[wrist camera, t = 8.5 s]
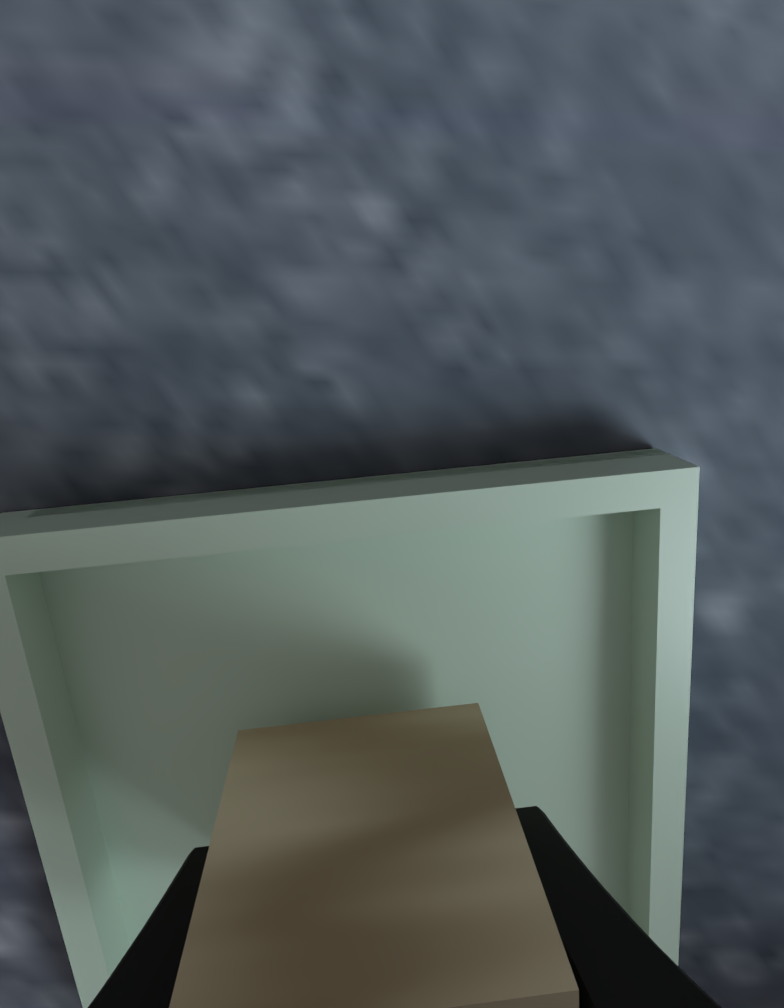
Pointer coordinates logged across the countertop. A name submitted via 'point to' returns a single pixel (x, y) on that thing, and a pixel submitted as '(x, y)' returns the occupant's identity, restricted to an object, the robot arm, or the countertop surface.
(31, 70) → the countertop surface
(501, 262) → the countertop surface
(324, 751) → the beech block
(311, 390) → the countertop surface
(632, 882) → the tray
